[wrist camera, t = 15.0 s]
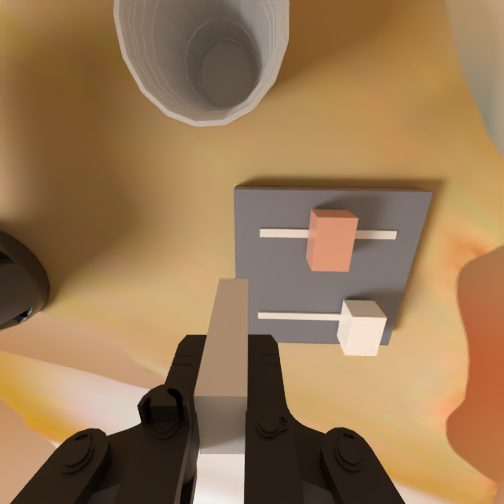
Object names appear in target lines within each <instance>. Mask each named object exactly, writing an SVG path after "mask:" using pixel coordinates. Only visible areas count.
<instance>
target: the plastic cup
mask: <svg viewBox="0 0 504 504" xmlns="http://www.w3.org/2000/svg"><path fill="white" fill-rule="evenodd" d="M113 16H114V21H115V26H116V30H117V35H118V40H119V44H120V49H121V53H122V58H123V59H124V61H125V63H126V65H127V67H128V69H129V70H130V72H131V74H132V76H133V78H134V80H135V81H136V83H137V85H138V87H139V89H140V91H141V92H142V93H143V94H144V95H145V96H146V97H147V98H148V99H149V100H150V101H151V102H152V103H154V104H155V105H156V106H157V107H158V108H159V109H160V110H161V111H162V112H163V113H164V114H165V115H166V116H169V117H171V118H174V119H176V120H179V121H181V122H184V123H186V124H189V125H191V126H194V127H206V126H222V125H227V124H229V123H230V122H232V121H234V120H236V119H238V118H239V117H241V116H243V115H245V114H247V113H248V112H250V111H252V110H253V109H254V108H255V107H256V106H257V104H258V103H259V102H260V100H261V99H262V98H263V97H264V95H265V94H266V93H267V91H268V90H269V89H270V88H271V86H272V85H273V84H274V82H275V81H276V78H277V75H278V72H279V69H280V66H281V63H282V60H283V57H284V54H285V51H286V48H287V45H288V42H289V0H114V9H113Z"/></svg>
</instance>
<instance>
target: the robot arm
mask: <svg viewBox="0 0 504 504" xmlns="http://www.w3.org/2000/svg"><path fill="white" fill-rule="evenodd" d="M48 296H49V284H48V280H47V276H46V274H45V272H44V270H43V268H42V266H41V265H40V263H39V262H38V260H37V259H36V258H35V257H34V255H33V254H32V253H31V252H30V251H29V250H28V249H27V248H25V247H24V246H23V245H22V244H21V243H19V242H18V241H16V240H15V239H13V238H12V237H10V236H8V235H6V234H4V233H2V232H0V331H2V330H5V329H8V328H10V327H13V326H16V325H18V324H21V323H22V322H24V321H26V320H28V319H29V318H31V317H32V316H33V315H35V314H36V313H37V312H39V311H40V310H41V309H42V308H43V307H44V306H45V304H46V302H47V300H48ZM137 407H138V411H139V415H140V418H141V423H140V424H138V425H136V426H134V427H132V428H130V429H127V430H124V431H121V432H118V433H114V434H111V435H108V436H106V433H105V432H103V431H102V430H100V429H94V428H89V429H86V430H83V431H79V432H77V433H76V434H74V435H73V436H71V437H69V438H68V439H66V440H65V441H64V442H63V443H62V444H61V445H60V446H59V447H58V448H57V449H56V450H55V451H54V453H53V454H52V455H51V456H50V457H49V458H48V460H47V461H46V462H45V463H44V464H43V466H42V467H41V468H40V469H39V470H38V471H37V473H36V474H35V475H34V476H33V477H32V479H31V480H30V481H29V482H28V483H27V484H26V486H25V487H24V488H23V489H22V491H20V493H19V494H18V495H17V496H16V497H15V498H14V500H13V501H12V502H11V503H10V504H193V500H194V493H195V487H196V480H197V465H196V464H197V457H198V451H199V449H200V454H245V477H244V504H405V502H404V501H403V499H402V497H401V496H400V494H399V492H398V491H397V489H396V488H395V486H394V484H393V483H392V481H391V479H390V478H389V476H388V475H387V473H386V471H385V470H384V468H383V466H382V465H381V463H380V462H379V460H378V458H377V457H376V455H375V453H374V452H373V450H372V448H371V447H370V446H369V445H368V443H367V442H366V441H365V440H364V438H363V437H361V436H360V435H359V434H357V433H356V432H354V431H353V430H350V429H347V428H344V427H341V428H333V429H331V430H330V431H328V432H327V433H326V434H325V433H322V432H319V431H317V430H314V429H311V428H308V427H306V426H304V425H302V424H301V423H300V422H298V421H297V420H296V419H295V418H294V417H293V416H292V415H291V413H290V411H289V409H288V407H287V404H286V399H285V392H284V385H283V378H282V371H281V365H280V357H279V350H278V343H277V342H276V341H275V339H274V338H273V336H272V335H271V334H248V279H219V284H218V288H217V293H216V297H215V302H214V306H213V311H212V315H211V320H210V324H209V329H208V333H207V335H186V336H185V338H184V339H183V340H182V341H181V342H180V343H179V345H178V348H177V350H176V353H175V357H174V359H173V362H172V366H171V367H170V370H169V373H168V376H167V379H166V382H165V384H163V385H160V386H157V387H155V388H153V389H151V390H150V391H149V392H148V393H147V394H145V395H144V396H143V397H142V399H141V401H140V402H139V404H138V405H137Z"/></svg>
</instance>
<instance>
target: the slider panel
mask: <svg viewBox="0 0 504 504" xmlns="http://www.w3.org/2000/svg"><path fill="white" fill-rule="evenodd" d="M432 196H433V192H432V191H428V190H424V189H420V188H351V187H276V186H236V187H235V189H234V212H235V263H236V279H248V334H271V335H272V336H273V338H274V339H275V341H276V342H277V343H313V344H340V342H339V340H338V337H337V332H338V327H339V321H340V316H341V310H342V305H343V300H367V301H375V302H376V304H377V305H378V306H379V308H380V309H381V310H382V312H383V313H384V314H385V316H386V317H387V320H386V323H385V327H384V330H383V334H382V337H381V341H380V345H388V343H389V340H390V337H391V333H392V330H393V327H394V323H395V320H396V317H397V313H398V310H399V307H400V303H401V300H402V296H403V293H404V290H405V286H406V283H407V280H408V276H409V273H410V270H411V266H412V263H413V260H414V256H415V253H416V249H417V246H418V243H419V239H420V236H421V233H422V229H423V226H424V223H425V219H426V216H427V213H428V209H429V206H430V202H431V199H432ZM311 209H332V210H348V211H349V212H351V213H352V214H353V215H355V216H356V217H358V223H357V229H356V234H355V240H354V245H353V250H352V256H351V261H350V266H349V272H334V271H311V269H310V266H309V264H308V261H307V259H306V252H307V242H308V233H309V224H310V214H311Z"/></svg>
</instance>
